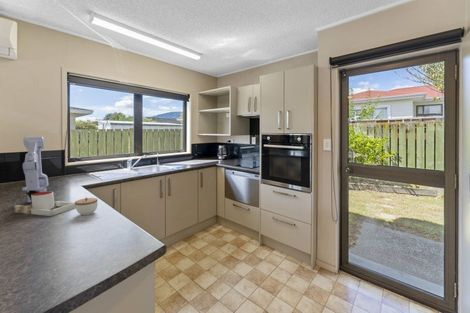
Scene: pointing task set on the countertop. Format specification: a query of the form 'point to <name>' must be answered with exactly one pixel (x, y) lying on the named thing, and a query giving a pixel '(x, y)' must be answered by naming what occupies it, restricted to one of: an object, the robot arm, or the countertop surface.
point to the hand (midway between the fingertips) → (34, 202)
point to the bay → (25, 208)
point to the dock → (63, 207)
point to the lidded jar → (86, 206)
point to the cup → (43, 200)
